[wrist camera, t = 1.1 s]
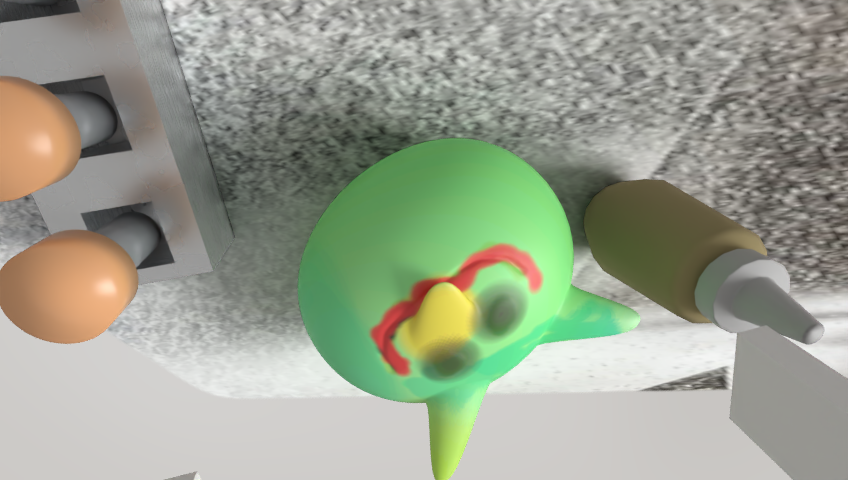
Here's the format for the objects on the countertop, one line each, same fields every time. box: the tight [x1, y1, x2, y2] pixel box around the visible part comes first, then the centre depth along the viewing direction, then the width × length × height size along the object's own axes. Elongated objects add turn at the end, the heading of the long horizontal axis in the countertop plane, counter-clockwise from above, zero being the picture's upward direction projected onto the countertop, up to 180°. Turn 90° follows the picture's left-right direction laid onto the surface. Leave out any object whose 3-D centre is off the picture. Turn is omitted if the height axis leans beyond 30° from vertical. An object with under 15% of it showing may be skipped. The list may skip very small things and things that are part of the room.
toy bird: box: [298, 138, 640, 480], centre depth 30 cm, size 18×17×15 cm
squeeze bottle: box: [583, 179, 824, 344], centre depth 31 cm, size 8×8×18 cm
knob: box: [0, 211, 161, 344], centre depth 25 cm, size 5×5×8 cm
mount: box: [0, 0, 235, 285], centre depth 28 cm, size 20×8×6 cm, turn 8°
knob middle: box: [0, 76, 118, 202], centre depth 22 cm, size 5×5×8 cm
